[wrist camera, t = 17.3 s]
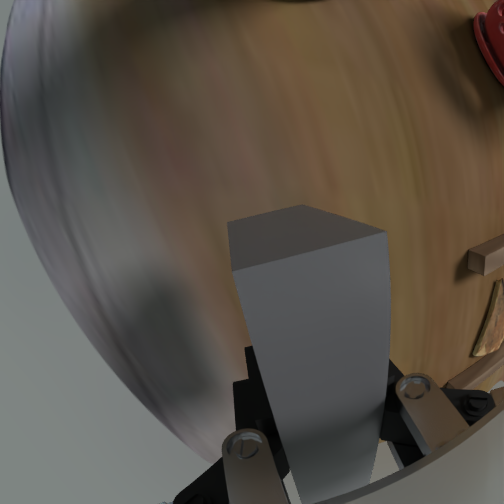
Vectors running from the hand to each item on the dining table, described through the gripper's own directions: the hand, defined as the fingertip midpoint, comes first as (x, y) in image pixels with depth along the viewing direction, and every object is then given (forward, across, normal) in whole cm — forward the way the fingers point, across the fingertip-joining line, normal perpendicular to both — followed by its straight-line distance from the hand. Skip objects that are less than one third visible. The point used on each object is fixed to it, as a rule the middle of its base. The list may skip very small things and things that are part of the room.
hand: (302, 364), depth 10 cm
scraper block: (+2, 0, 0) cm, 2 cm away
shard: (+10, -27, +14) cm, 32 cm away
